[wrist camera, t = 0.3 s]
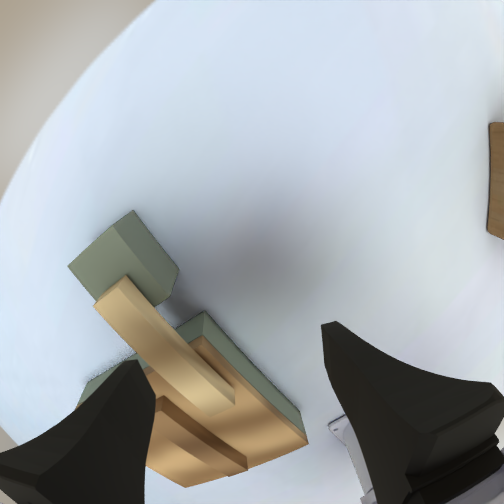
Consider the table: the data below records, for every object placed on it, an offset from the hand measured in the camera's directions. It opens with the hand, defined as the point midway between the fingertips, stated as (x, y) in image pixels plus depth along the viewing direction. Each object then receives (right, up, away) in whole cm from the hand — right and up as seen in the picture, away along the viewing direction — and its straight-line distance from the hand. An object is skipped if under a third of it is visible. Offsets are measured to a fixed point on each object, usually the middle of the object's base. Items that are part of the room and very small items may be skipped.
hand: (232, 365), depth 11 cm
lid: (-4, -10, +10) cm, 15 cm away
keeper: (-7, +4, +9) cm, 12 cm away
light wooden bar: (-4, -1, +6) cm, 7 cm away
